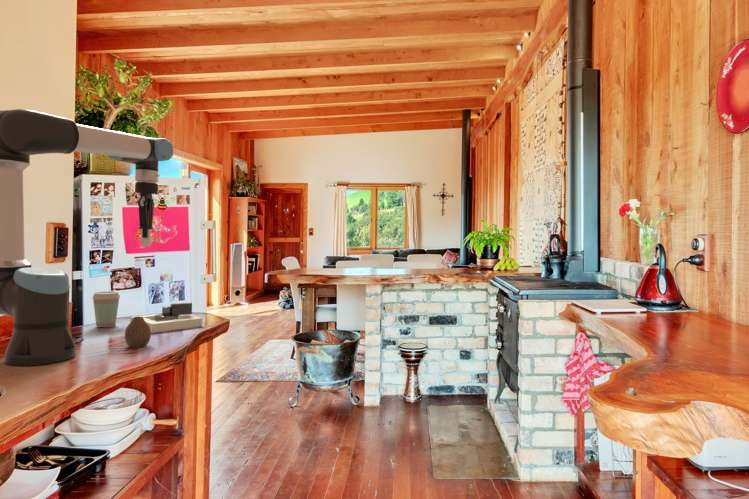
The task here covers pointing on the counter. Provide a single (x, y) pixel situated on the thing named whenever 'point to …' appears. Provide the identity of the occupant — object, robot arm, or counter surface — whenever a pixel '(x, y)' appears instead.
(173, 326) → the dial board
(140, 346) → the vase
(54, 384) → the counter surface
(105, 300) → the coffee cup
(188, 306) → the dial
